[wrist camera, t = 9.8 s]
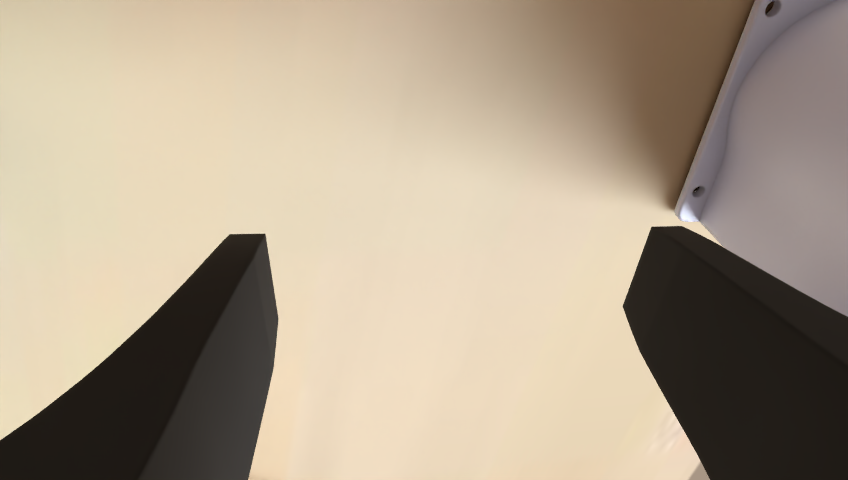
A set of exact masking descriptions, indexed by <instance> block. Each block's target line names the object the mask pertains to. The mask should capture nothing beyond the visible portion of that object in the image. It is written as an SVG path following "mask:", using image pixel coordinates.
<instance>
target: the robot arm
mask: <svg viewBox="0 0 848 480" xmlns="http://www.w3.org/2000/svg"><path fill="white" fill-rule="evenodd" d="M772 1H774V4H773V7H772V9H771V10H770V11H769V12H768V13H766V14H765V10H766V7H767V6H768V4H769V3H770V2H772ZM699 186H700V187H699ZM697 187H699V189H698V190H697V191H695V192H693V190H694V189H695V188H697ZM675 215H676V216H677V217H678V218H679V219H680V220H681V221H685V222H696V221H700V223H701V224H702V225H703V226H704V227H705V228H706V229H707V230H708V231H709V232H710V233H711V234H712V235H713V236H714V237H715V238H716V240H717V241H718V242H719V243H720V244H721V245H722V246H723V247H724V248H723V247H722V246H720V245H718V244H716V243H714V242H713V241H711V240H709V239H707V238H705V237H703V236H701V235H699V234H697V233H695V232H693V231H691V230H689V229H687V228H685V227H682V226H667V227H651V230H650V233H649V235H648V238H647V241H646V244H645V246H644V249H643V252H642V255H641V258H640V260H639V263H638V266H637V269H636V271H635V274H634V277H633V280H632V282H631V285H630V288H629V291H628V293H627V296H626V299H625V302H624V304H623V308H624V311H625V314H626V317H627V320H628V322H629V325H630V328H631V331H632V333H633V336H634V338H635V341H636V343H637V345H638V348H639V350H640V352H641V354H642V356H643V358H644V360H645V362H646V364H647V366H648V367H649V369H650V371H651V373H652V375H653V376H654V378H655V380H656V382H657V384H658V386H659V387H660V389H661V391H662V393H663V394H664V396H665V398H666V400H667V402H668V403H669V405H670V407H671V409H672V410H673V412H674V414H675V416H676V417H677V419H678V421H679V423H680V425H681V426H682V428H683V430H684V432H685V433H686V435H687V437H688V439H689V440H690V442H691V444H692V446H693V448H694V449H695V451H696V453H697V455H698V457H699V459H700V461H701V462H702V464H703V466H704V468H705V470H706V472H707V474H708V476H709V478H710V480H848V0H755V2H754V4H753V7H752V9H751V12H750V15H749V17H748V20H747V22H746V25H745V28H744V30H743V33H742V35H741V38H740V41H739V43H738V46H737V48H736V51H735V54H734V56H733V59H732V61H731V64H730V67H729V69H728V72H727V74H726V77H725V80H724V82H723V85H722V87H721V90H720V93H719V95H718V98H717V100H716V103H715V106H714V108H713V111H712V113H711V116H710V119H709V121H708V124H707V126H706V129H705V132H704V134H703V137H702V139H701V142H700V145H699V147H698V150H697V152H696V155H695V158H694V160H693V163H692V165H691V168H690V171H689V173H688V176H687V178H686V181H685V184H684V186H683V189H682V191H681V194H680V197H679V199H678V202H677V204H676V207H675ZM277 327H278V314H277V307H276V300H275V294H274V287H273V281H272V274H271V268H270V261H269V255H268V248H267V242H266V235H265V234H230V235H229V236H228V237H227V238H226V239H225V240H224V241H223V242H222V243H221V244H220V245H219V246H218V247H217V248H216V249H215V250H214V251H213V252H212V253H211V254H210V256H209V257H208V258H207V259H206V260H205V261H204V262H203V263H202V264H201V265H200V267H199V268H198V269H197V270H196V271H195V272H194V273H193V274H192V275H191V276H190V277H189V278H188V279H187V281H186V282H185V283H184V284H183V285H182V286H181V287H180V288H179V289H178V290H177V291H176V292H175V293H174V294H173V295H172V296H171V297H170V298H169V299H168V300H167V301H166V302H165V303H164V304H163V305H162V306H161V307H160V308H159V309H158V311H157V312H156V313H155V314H154V315H153V316H152V317H151V318H149V319H148V320H147V321H146V322H145V323H144V324H143V325H142V326H141V327H140V328H139V329H138V330H137V331H136V332H135V333H134V334H132V335H131V336H130V337H129V338H128V339H127V340H126V341H125V342H124V343H123V344H122V345H121V346H120V347H118V348H117V349H116V350H115V351H114V352H113V353H112V354H111V355H110V356H109V357H108V358H106V359H105V360H104V361H103V362H102V363H101V364H100V365H98V366H97V367H96V368H95V369H94V370H93V371H91V372H90V373H89V374H88V375H87V376H85V377H84V378H83V379H82V380H80V381H79V382H78V383H77V384H75V385H74V386H73V387H72V388H70V389H69V390H68V391H67V392H65V393H64V394H63V395H61V396H60V397H59V398H58V399H56V400H55V401H54V402H53V403H51V404H50V405H49V406H48V407H46V408H45V409H44V410H42V411H41V412H40V413H38V414H37V415H36V416H34V417H33V418H32V419H30V420H29V421H27V422H26V423H24V424H23V425H22V426H20V427H19V428H17V429H16V430H14V431H13V432H12V433H10V434H9V435H7V436H6V437H5V438H3V439H2V440H0V480H248V478H249V473H250V469H251V465H252V460H253V456H254V452H255V447H256V443H257V439H258V434H259V430H260V425H261V421H262V417H263V412H264V408H265V404H266V399H267V395H268V390H269V386H270V381H271V377H272V372H273V367H274V358H275V348H276V338H277Z"/></svg>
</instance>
